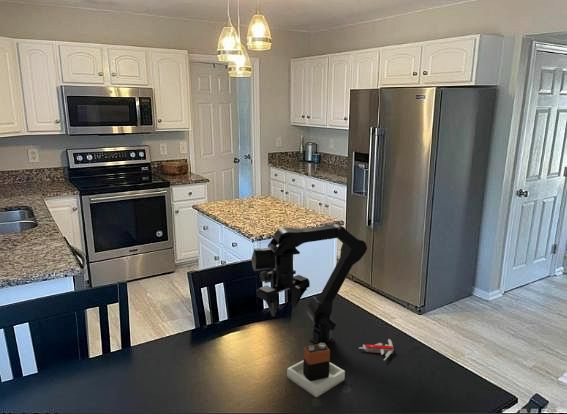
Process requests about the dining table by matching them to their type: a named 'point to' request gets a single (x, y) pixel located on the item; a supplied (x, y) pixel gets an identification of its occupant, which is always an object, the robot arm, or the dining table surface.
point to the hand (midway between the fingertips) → (283, 311)
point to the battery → (316, 362)
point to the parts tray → (317, 385)
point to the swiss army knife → (379, 348)
